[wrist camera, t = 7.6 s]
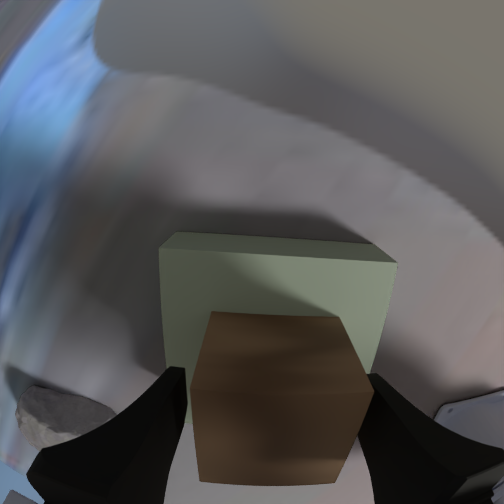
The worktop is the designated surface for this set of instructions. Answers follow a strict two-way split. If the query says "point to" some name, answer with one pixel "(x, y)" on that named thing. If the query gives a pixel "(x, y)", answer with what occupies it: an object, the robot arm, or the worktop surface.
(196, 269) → the base block
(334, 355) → the walnut block
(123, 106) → the worktop surface
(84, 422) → the stone block
